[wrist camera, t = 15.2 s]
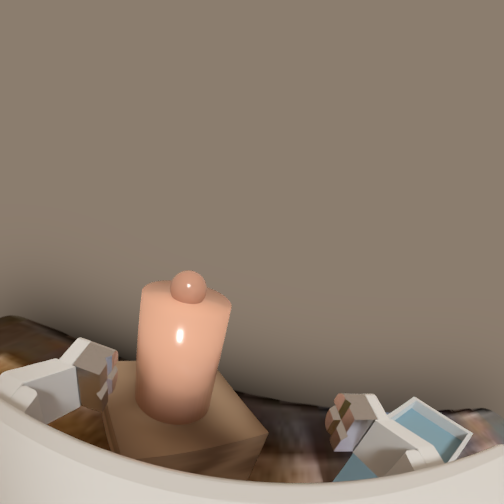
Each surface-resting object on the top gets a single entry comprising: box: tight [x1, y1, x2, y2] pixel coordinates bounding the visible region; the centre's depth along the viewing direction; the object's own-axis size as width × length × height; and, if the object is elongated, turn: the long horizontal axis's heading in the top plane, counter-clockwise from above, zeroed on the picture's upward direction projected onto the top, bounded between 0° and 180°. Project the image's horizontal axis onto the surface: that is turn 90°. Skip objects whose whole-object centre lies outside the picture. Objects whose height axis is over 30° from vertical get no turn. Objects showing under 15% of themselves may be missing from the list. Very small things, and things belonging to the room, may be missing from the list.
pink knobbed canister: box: [135, 270, 231, 425], centre depth 20 cm, size 6×6×11 cm
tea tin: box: [333, 397, 473, 482], centre depth 19 cm, size 8×8×10 cm
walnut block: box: [102, 361, 269, 481], centre depth 22 cm, size 11×11×8 cm
